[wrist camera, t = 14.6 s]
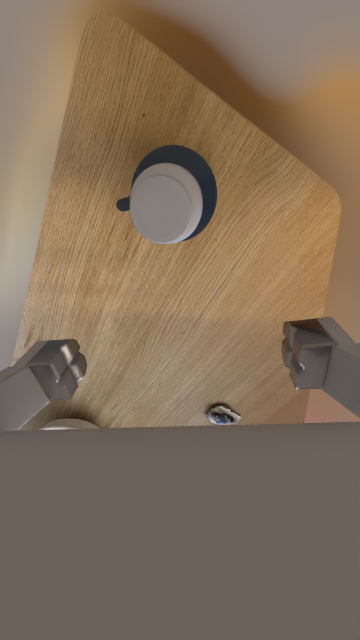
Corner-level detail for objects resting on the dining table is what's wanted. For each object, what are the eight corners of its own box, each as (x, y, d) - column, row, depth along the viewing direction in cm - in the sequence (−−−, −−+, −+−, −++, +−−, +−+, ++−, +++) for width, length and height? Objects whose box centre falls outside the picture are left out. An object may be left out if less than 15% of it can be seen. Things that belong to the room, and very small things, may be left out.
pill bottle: (149, 159, 22) (119, 150, 13) (207, 171, 22) (212, 170, 14) (144, 221, 25) (116, 246, 16) (195, 231, 25) (194, 261, 16)
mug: (209, 145, 28) (213, 136, 21) (215, 221, 32) (220, 235, 25) (122, 163, 30) (95, 159, 22) (138, 232, 34) (121, 250, 26)
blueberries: (214, 400, 51) (214, 407, 50) (247, 410, 52) (249, 418, 51) (201, 418, 55) (201, 426, 53) (233, 428, 56) (234, 435, 54)
